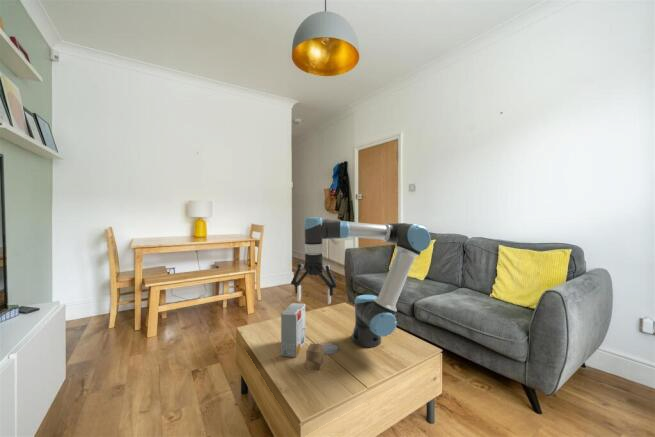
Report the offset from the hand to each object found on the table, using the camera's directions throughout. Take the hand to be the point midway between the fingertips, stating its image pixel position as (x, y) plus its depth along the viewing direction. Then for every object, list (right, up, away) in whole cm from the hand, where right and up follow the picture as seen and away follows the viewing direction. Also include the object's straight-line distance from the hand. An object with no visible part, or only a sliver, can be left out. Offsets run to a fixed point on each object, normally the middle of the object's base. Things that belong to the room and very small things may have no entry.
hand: (314, 301), depth 116 cm
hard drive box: (-11, -28, +16) cm, 34 cm away
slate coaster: (+6, -28, +15) cm, 32 cm away
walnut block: (0, -29, +2) cm, 29 cm away
